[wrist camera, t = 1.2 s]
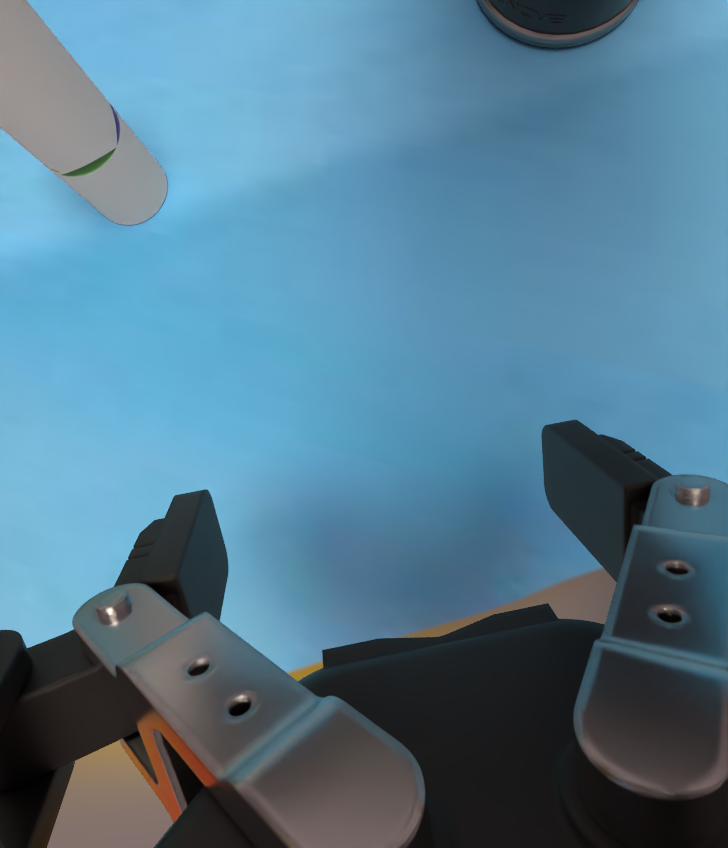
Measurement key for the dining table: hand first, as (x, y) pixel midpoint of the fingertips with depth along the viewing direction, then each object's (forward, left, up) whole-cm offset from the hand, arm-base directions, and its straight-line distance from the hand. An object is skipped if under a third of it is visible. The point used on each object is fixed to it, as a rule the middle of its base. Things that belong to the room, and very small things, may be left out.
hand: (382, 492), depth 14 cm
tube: (-7, -22, -17) cm, 28 cm away
